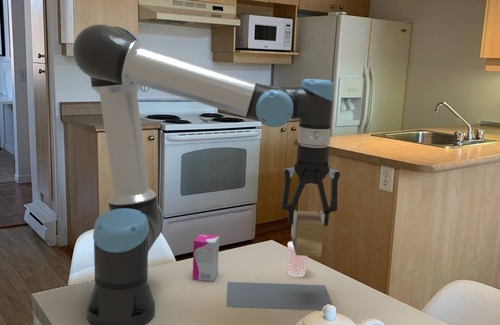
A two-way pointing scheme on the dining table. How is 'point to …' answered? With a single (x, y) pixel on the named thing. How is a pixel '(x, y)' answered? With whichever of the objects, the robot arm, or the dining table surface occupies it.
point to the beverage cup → (295, 262)
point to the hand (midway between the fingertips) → (306, 237)
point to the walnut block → (308, 234)
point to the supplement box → (205, 258)
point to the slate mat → (277, 296)
